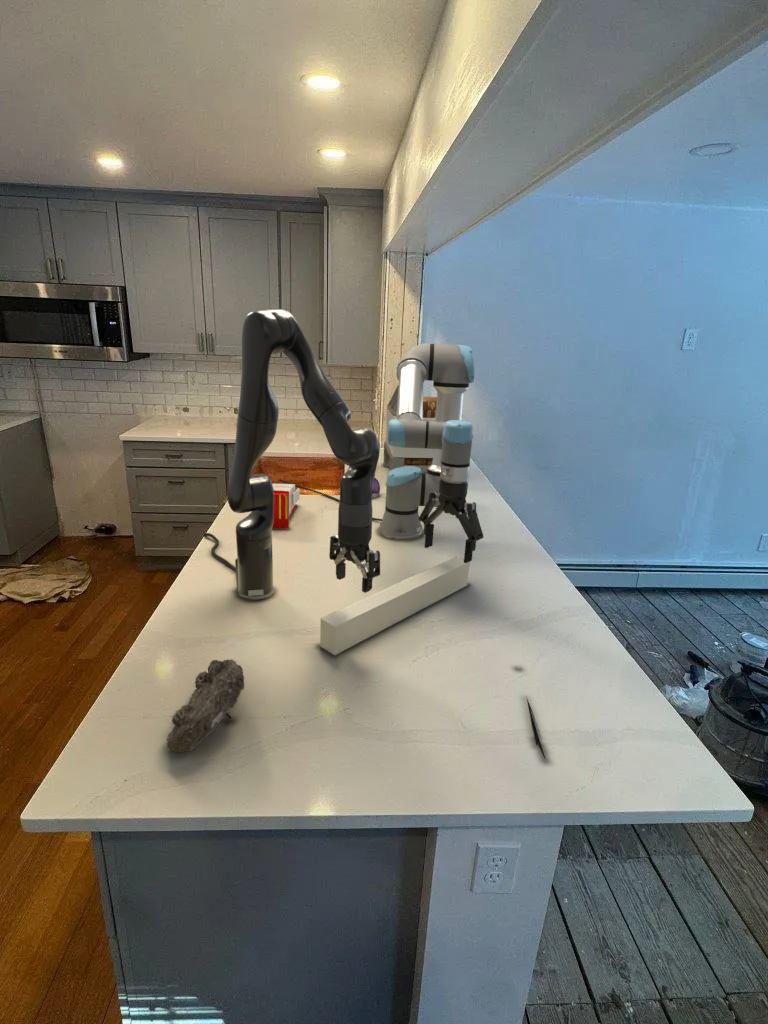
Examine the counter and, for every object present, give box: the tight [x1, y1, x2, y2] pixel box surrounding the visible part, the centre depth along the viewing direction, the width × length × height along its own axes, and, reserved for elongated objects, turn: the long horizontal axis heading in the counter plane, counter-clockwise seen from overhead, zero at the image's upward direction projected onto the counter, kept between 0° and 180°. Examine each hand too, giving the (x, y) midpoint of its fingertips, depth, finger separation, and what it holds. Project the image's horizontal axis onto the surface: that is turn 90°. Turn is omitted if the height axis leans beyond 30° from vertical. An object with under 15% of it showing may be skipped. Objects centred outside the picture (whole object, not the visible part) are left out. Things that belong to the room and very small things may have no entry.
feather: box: [517, 666, 549, 759], centre depth 114 cm, size 2×28×2 cm
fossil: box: [166, 658, 245, 754], centre depth 106 cm, size 22×10×15 cm
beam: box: [319, 556, 471, 656], centre depth 147 cm, size 52×5×8 cm, turn 137°
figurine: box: [372, 474, 381, 499], centre depth 236 cm, size 9×10×15 cm
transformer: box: [383, 384, 466, 472], centre depth 268 cm, size 34×33×41 cm
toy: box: [272, 483, 301, 530], centre depth 210 cm, size 12×13×30 cm
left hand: (353, 584), depth 131 cm, fingers open, 8 cm apart
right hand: (447, 554), depth 157 cm, fingers open, 13 cm apart
